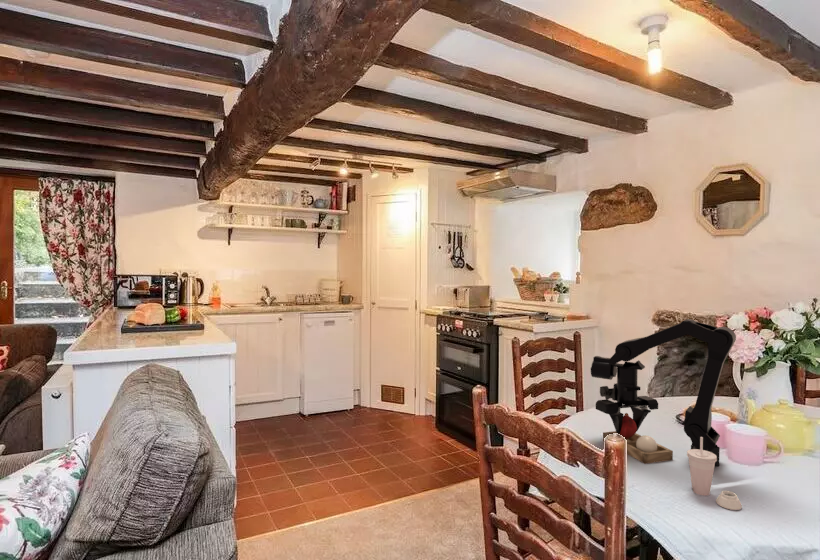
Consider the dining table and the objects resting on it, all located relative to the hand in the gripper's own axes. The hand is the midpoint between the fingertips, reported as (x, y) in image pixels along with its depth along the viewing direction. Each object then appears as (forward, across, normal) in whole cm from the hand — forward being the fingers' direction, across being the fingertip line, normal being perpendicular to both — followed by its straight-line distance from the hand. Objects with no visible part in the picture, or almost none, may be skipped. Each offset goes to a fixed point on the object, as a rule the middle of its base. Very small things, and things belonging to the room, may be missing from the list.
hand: (626, 432), depth 148 cm
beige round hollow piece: (+5, +1, +36) cm, 37 cm away
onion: (+2, 0, 0) cm, 2 cm away
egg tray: (+5, 0, +4) cm, 6 cm away
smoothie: (+5, +2, +29) cm, 30 cm away
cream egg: (+4, 0, +8) cm, 9 cm away
